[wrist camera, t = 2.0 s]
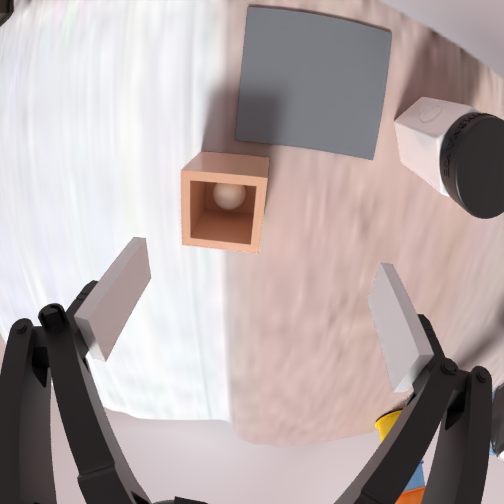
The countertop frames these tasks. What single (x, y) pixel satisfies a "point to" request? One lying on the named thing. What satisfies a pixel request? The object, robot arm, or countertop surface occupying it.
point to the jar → (455, 152)
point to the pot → (215, 217)
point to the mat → (312, 82)
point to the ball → (229, 195)
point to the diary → (5, 10)
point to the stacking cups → (416, 486)
